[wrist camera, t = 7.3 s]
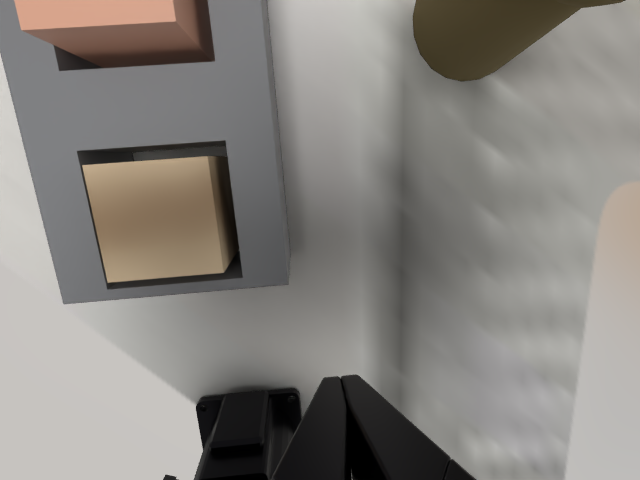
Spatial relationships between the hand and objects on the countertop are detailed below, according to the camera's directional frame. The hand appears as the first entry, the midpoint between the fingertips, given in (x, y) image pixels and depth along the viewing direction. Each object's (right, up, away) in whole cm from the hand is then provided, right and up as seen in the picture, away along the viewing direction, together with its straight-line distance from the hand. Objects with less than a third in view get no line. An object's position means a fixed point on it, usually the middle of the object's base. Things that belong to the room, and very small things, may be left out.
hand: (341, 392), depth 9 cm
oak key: (-7, +6, +11) cm, 15 cm away
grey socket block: (-8, +10, +11) cm, 17 cm away
